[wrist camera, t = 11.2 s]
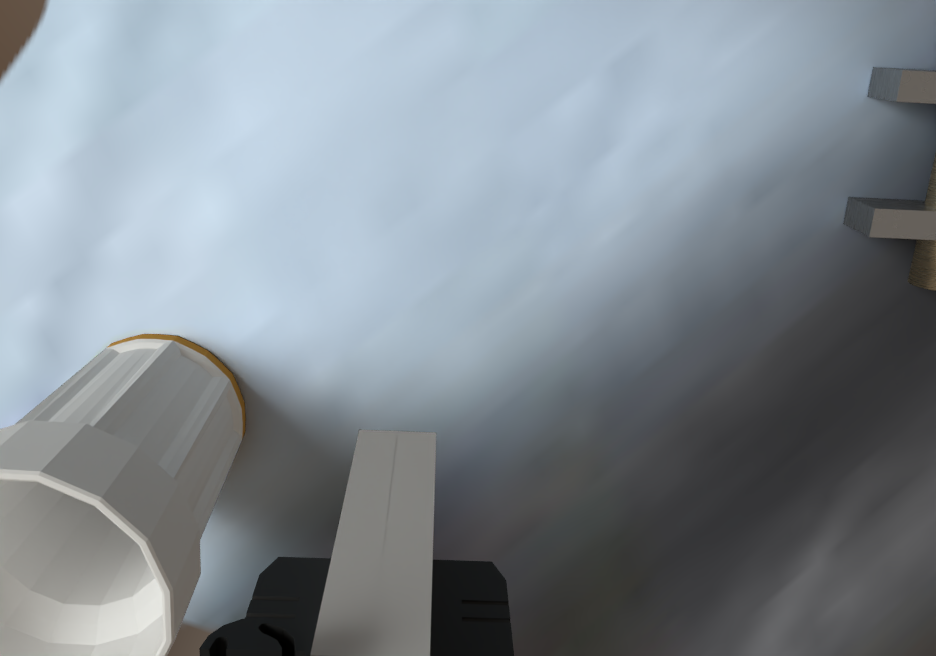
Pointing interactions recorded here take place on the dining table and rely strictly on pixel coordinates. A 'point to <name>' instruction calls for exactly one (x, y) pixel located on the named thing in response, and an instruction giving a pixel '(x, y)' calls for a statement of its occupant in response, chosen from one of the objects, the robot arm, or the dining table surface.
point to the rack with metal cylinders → (893, 217)
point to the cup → (114, 500)
